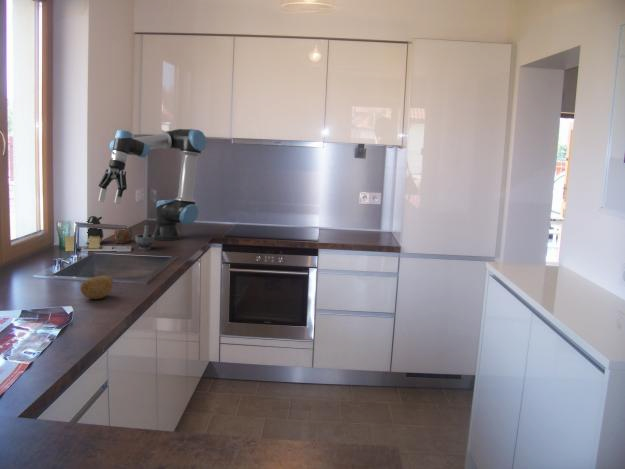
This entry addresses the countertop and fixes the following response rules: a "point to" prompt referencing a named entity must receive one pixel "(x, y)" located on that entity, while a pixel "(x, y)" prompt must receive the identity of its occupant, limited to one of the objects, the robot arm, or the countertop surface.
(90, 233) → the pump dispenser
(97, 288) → the potato
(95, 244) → the pale yellow block
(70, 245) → the nut block
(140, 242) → the mortar and pestle
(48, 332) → the countertop surface
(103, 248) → the rack rail
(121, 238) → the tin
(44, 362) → the countertop surface
